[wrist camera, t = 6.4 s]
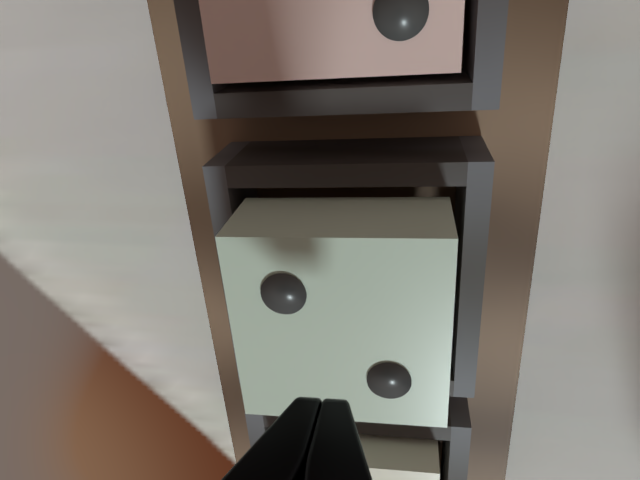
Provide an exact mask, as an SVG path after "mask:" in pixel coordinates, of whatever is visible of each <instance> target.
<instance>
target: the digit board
mask: <svg viewBox="0 0 640 480" xmlns="http://www.w3.org/2000/svg"><path fill="white" fill-rule="evenodd" d="M147 3H148V8H149V13H150V18H151V23H152V28H153V34H154V39H155V44H156V49H157V54H158V59H159V65H160V70H161V75H162V80H163V85H164V91H165V96H166V101H167V106H168V111H169V116H170V122H171V127H172V132H173V137H174V142H175V147H176V153H177V158H178V163H179V168H180V173H181V178H182V184H183V189H184V194H185V199H186V204H187V209H188V215H189V220H190V225H191V230H192V235H193V240H194V246H195V251H196V256H197V261H198V266H199V271H200V277H201V282H202V287H203V292H204V297H205V303H206V308H207V313H208V318H209V323H210V328H211V334H212V339H213V344H214V349H215V354H216V359H217V365H218V370H219V375H220V380H221V385H222V390H223V396H224V401H225V406H226V411H227V416H228V421H229V427H230V432H231V437H232V442H233V447H234V452H235V458H236V463H237V462H238V461H239V460H240V459H241V458H242V457H243V455H244V454H245V453H246V452H247V451H248V450H249V449H250V448H251V447H252V446H253V444H254V443H255V442H256V441H257V440H258V439H259V438H260V437H261V436H262V435H263V433H264V432H265V431H266V430H267V429H268V428H269V427H270V426H271V425H272V424H273V422H274V421H275V420H276V419H277V418H278V417H279V416H269V415H255V414H245V408H244V402H243V397H242V391H241V385H240V379H239V373H238V368H237V362H236V356H235V350H234V344H233V339H232V333H231V327H230V321H229V315H228V310H227V304H226V298H225V292H224V286H223V281H222V275H221V269H220V263H219V257H218V252H217V246H216V240H215V236H216V235H217V234H218V232H219V231H220V230H221V229H222V227H223V226H224V225H225V223H226V222H227V221H228V220H229V218H230V217H231V216H232V215H233V213H234V212H235V211H236V209H237V208H238V207H239V206H240V204H241V203H242V202H243V201H244V199H245V198H329V197H450V201H451V205H452V210H453V215H454V220H455V225H456V230H457V235H458V252H457V269H456V286H455V303H454V320H453V337H452V354H451V371H450V388H449V405H448V422H447V428H443V427H428V426H414V425H399V424H385V423H370V422H356V421H355V424H356V428H357V431H358V434H363V435H377V436H390V437H404V438H418V439H431V440H438V452H439V467H440V480H505V475H506V467H507V460H508V452H509V445H510V437H511V430H512V422H513V415H514V407H515V400H516V393H517V385H518V378H519V370H520V363H521V355H522V348H523V340H524V333H525V325H526V318H527V310H528V303H529V295H530V288H531V280H532V273H533V265H534V258H535V250H536V243H537V235H538V228H539V220H540V213H541V205H542V198H543V190H544V183H545V175H546V168H547V160H548V153H549V145H550V138H551V130H552V123H553V115H554V108H555V100H556V93H557V85H558V78H559V70H560V63H561V55H562V48H563V40H564V33H565V26H566V18H567V11H568V3H569V0H465V8H464V27H463V46H462V64H461V73H442V74H420V75H398V76H376V77H354V78H332V79H310V80H288V81H266V82H244V83H222V84H211V79H210V72H209V66H208V59H207V53H206V46H205V40H204V33H203V27H202V20H201V14H200V7H199V1H198V0H147Z"/></svg>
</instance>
